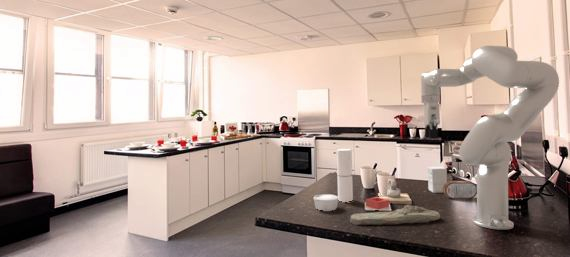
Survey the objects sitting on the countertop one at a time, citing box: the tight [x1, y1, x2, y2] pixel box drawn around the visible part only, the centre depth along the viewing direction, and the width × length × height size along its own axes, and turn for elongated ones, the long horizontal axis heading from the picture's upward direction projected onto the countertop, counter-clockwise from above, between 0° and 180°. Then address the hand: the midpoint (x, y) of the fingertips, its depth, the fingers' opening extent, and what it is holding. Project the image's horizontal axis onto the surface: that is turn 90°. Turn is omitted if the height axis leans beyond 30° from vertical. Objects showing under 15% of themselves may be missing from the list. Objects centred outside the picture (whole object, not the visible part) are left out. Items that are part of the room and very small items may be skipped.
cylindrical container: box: [336, 148, 354, 203], centre depth 153 cm, size 7×7×25 cm
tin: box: [443, 180, 477, 200], centre depth 150 cm, size 15×3×8 cm, turn 84°
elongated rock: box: [349, 204, 441, 226], centre depth 122 cm, size 35×5×10 cm
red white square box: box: [365, 196, 390, 209], centre depth 140 cm, size 7×7×3 cm
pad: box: [364, 201, 392, 212], centre depth 140 cm, size 11×11×1 cm
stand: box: [377, 180, 413, 205], centre depth 151 cm, size 14×14×9 cm
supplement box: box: [427, 166, 448, 194], centre depth 165 cm, size 7×7×13 cm
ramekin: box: [313, 193, 339, 212], centre depth 141 cm, size 11×11×5 cm
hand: (431, 137), depth 141 cm, fingers open, 9 cm apart
